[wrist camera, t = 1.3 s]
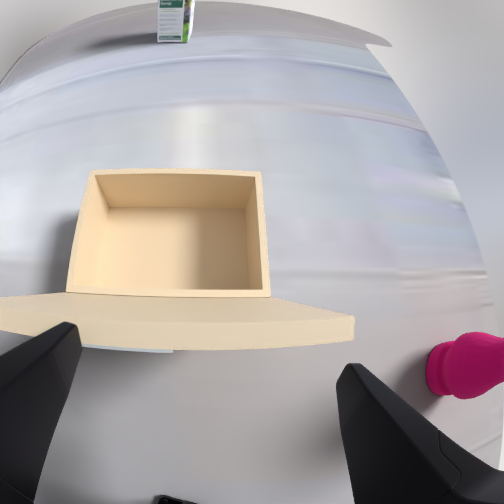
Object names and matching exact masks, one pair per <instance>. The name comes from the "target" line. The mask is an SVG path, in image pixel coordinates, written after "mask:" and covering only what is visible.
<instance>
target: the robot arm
mask: <svg viewBox="0 0 504 504" xmlns="http://www.w3.org/2000/svg"><path fill="white" fill-rule="evenodd" d="M81 352H82V343H81V339H80V334H79V330H78V327H77V325H76V324H74V323H70V322H67V321H64V322H62V323H60V324H58V325H56V326H54V327H52V328H50V329H48V330H47V331H45V332H43V333H41V334H39V335H37V336H35V337H33V338H32V339H30V340H28V341H26V342H24V343H22V344H21V345H19V346H17V347H15V348H13V349H11V350H10V351H8V352H6V353H4V354H2V355H1V356H0V504H34V502H33V501H34V499H35V494H36V490H37V486H38V482H39V479H40V475H41V472H42V468H43V465H44V461H45V458H46V455H47V452H48V449H49V446H50V443H51V440H52V437H53V434H54V431H55V428H56V426H57V423H58V420H59V417H60V415H61V412H62V410H63V407H64V405H65V402H66V399H67V397H68V394H69V391H70V388H71V384H72V381H73V377H74V374H75V371H76V368H77V364H78V361H79V358H80V355H81ZM336 393H337V402H338V411H339V422H340V430H341V435H342V440H343V445H344V449H345V454H346V459H347V464H348V469H349V475H350V480H351V485H352V491H353V497H354V502H355V504H504V471H500V470H497V469H494V468H492V467H491V466H489V465H487V464H486V463H484V462H483V461H481V460H480V459H478V458H477V457H475V456H474V455H472V454H471V453H469V452H468V451H466V450H465V449H463V448H462V447H460V446H459V445H458V444H456V443H455V442H454V441H452V440H451V439H450V438H449V437H447V436H446V435H445V434H444V433H443V432H441V431H440V430H438V428H436V427H435V426H434V425H433V424H432V423H430V422H429V421H428V420H427V419H426V418H424V417H423V416H422V415H421V414H420V413H418V412H417V411H416V410H415V409H414V408H412V407H411V406H410V405H409V404H408V403H406V402H405V401H404V400H403V399H402V398H401V397H399V396H398V395H397V394H396V393H395V392H393V391H392V390H391V389H390V388H389V387H388V386H386V385H385V384H384V383H383V382H382V381H380V380H379V379H378V378H377V377H376V376H375V375H373V374H372V373H371V372H370V371H369V370H368V369H366V368H365V367H364V366H363V365H362V364H360V363H349V364H347V365H346V366H345V368H344V370H343V371H342V373H341V375H340V377H339V378H338V380H337V383H336ZM163 499H166V500H168V501H167V502H165V501H163ZM158 504H196V503H193V502H189V501H182V500H179V499H176V498H172V497H169V496H166V495H162V496H161V497H160V499H159V502H158Z"/></svg>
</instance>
